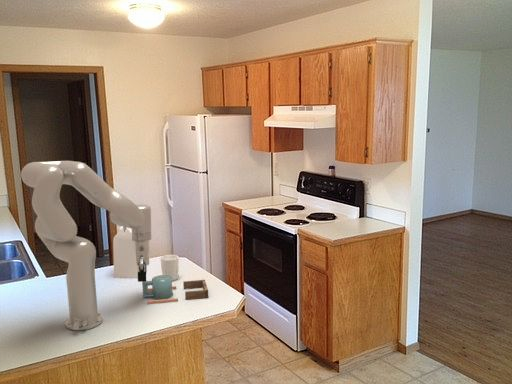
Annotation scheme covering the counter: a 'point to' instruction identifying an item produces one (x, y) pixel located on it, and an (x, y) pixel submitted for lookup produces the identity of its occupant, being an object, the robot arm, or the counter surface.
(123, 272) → the milk
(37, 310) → the counter surface
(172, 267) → the white cup
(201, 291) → the brown wooden frame
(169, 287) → the jug
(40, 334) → the counter surface
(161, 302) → the strips
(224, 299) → the counter surface
